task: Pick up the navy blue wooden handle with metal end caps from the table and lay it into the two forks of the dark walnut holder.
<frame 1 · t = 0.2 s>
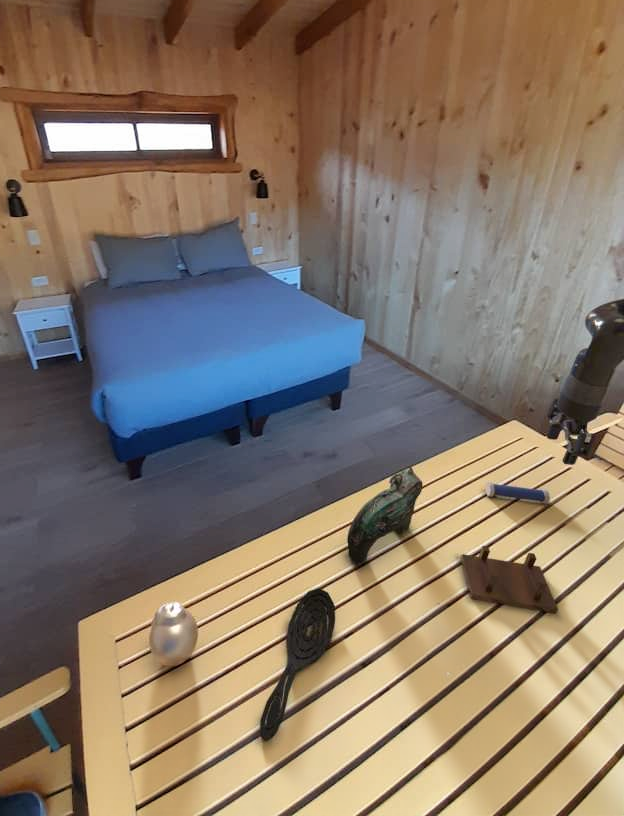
hand: (559, 450, 95), 18 cm above the table, tool pointing down, fingers open, 8 cm apart
hairbrush: (297, 660, 74), on the table
handle: (514, 497, 105), on the table
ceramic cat: (381, 542, 95), on the table
holder: (505, 584, 85), on the table
ghost figurine: (176, 646, 76), on the table
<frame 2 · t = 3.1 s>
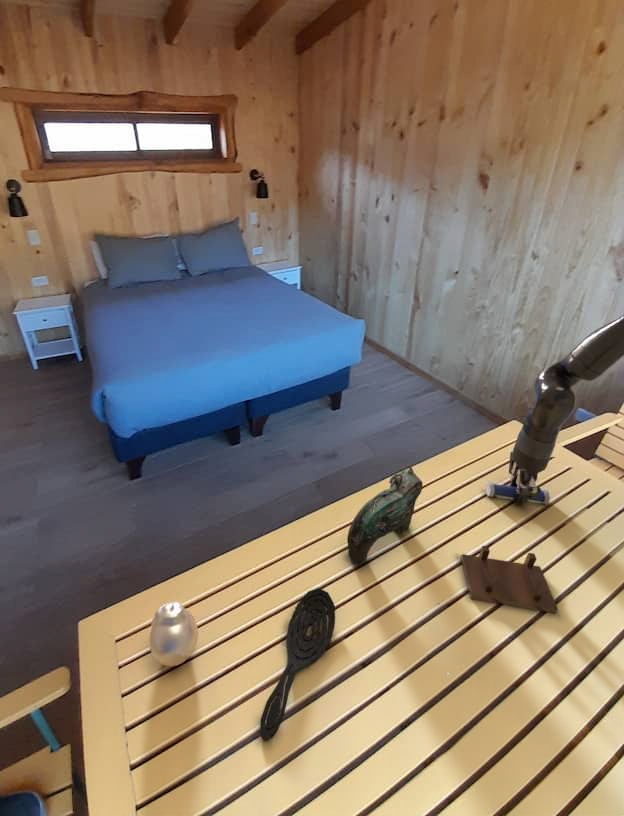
hand: (514, 497, 105), 0 cm above the table, tool pointing down, fingers closed on handle, 3 cm apart
handle: (514, 497, 105), on the table, touching gripper
everything else where it was.
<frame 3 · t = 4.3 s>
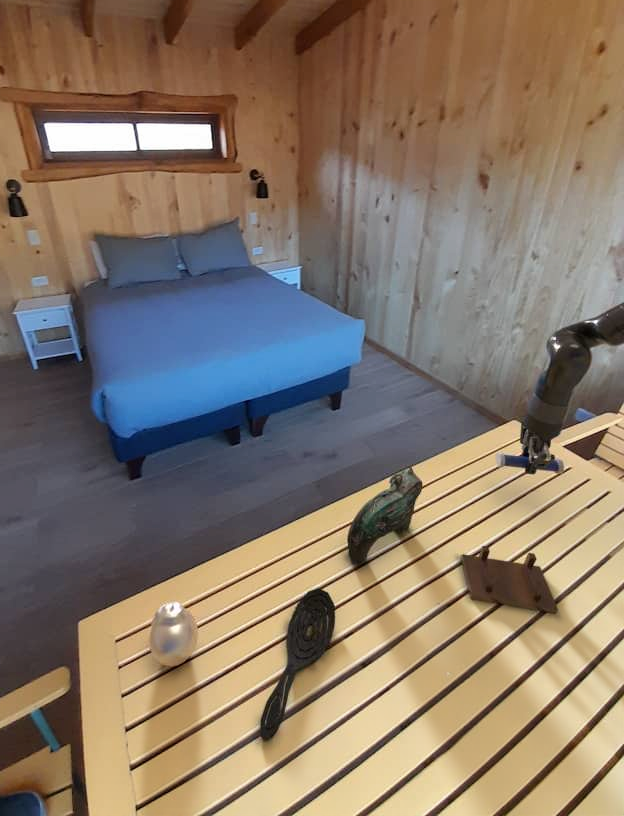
hand: (526, 467, 101), 11 cm above the table, tool pointing down, fingers closed on handle, 3 cm apart
handle: (526, 468, 101), point 10 cm above the table, touching gripper
everything else where it was.
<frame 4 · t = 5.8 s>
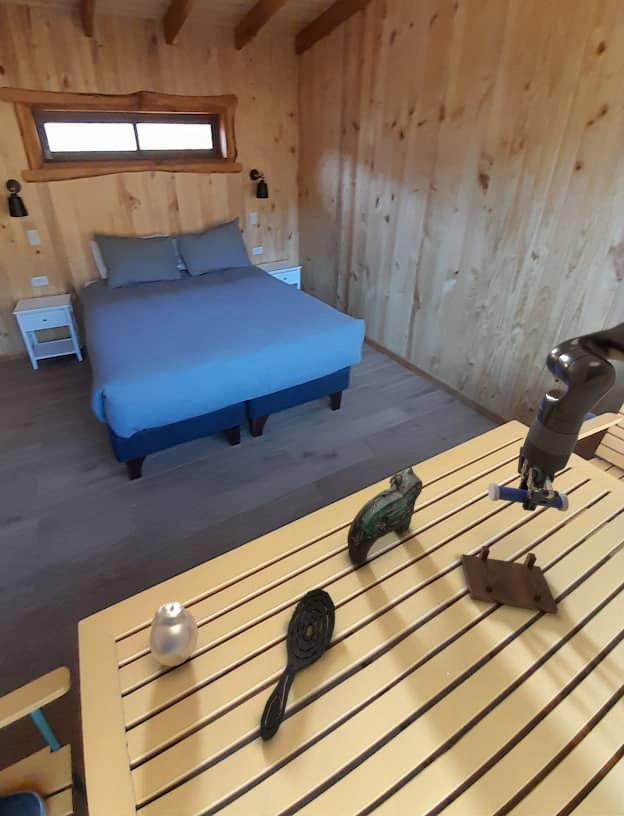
hand: (524, 502, 85), 15 cm above the table, tool pointing down, fingers closed on handle, 3 cm apart
handle: (524, 502, 86), point 15 cm above the table, touching gripper
everything else where it was.
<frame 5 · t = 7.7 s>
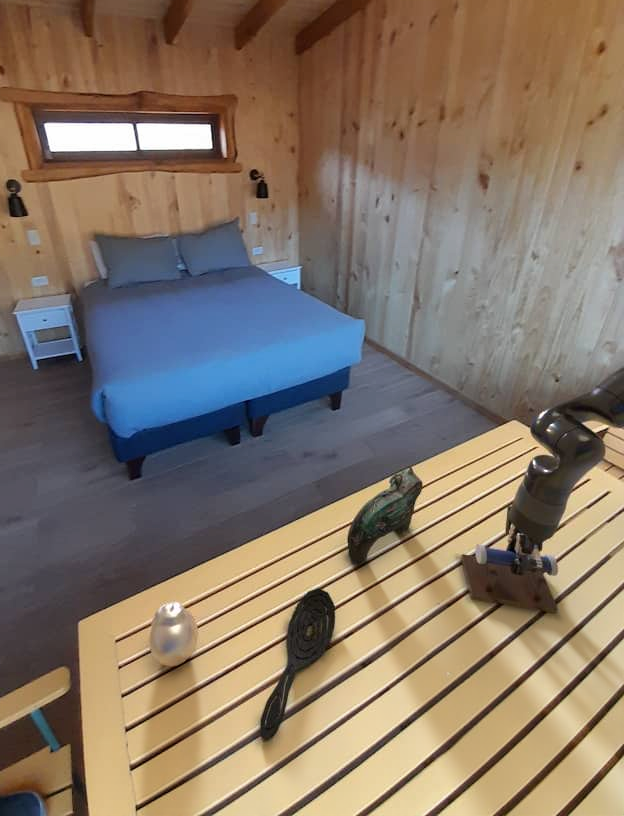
hand: (513, 564, 82), 7 cm above the table, tool pointing down, fingers closed on handle, 3 cm apart
handle: (512, 564, 83), point 6 cm above the table, touching gripper
everything else where it was.
when the fingers open (4 cm above the table, at t = 8.9 s): handle stays where it is, resting on holder.
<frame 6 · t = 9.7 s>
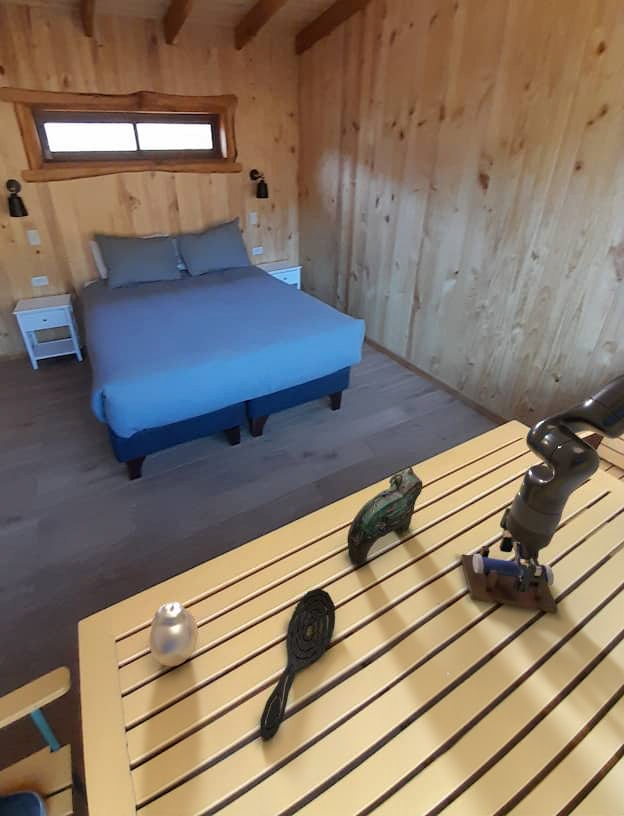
hand: (511, 569, 83), 5 cm above the table, tool pointing down, fingers open, 8 cm apart
handle: (509, 573, 84), point 4 cm above the table, tilted 6°, touching holder
everything else where it was.
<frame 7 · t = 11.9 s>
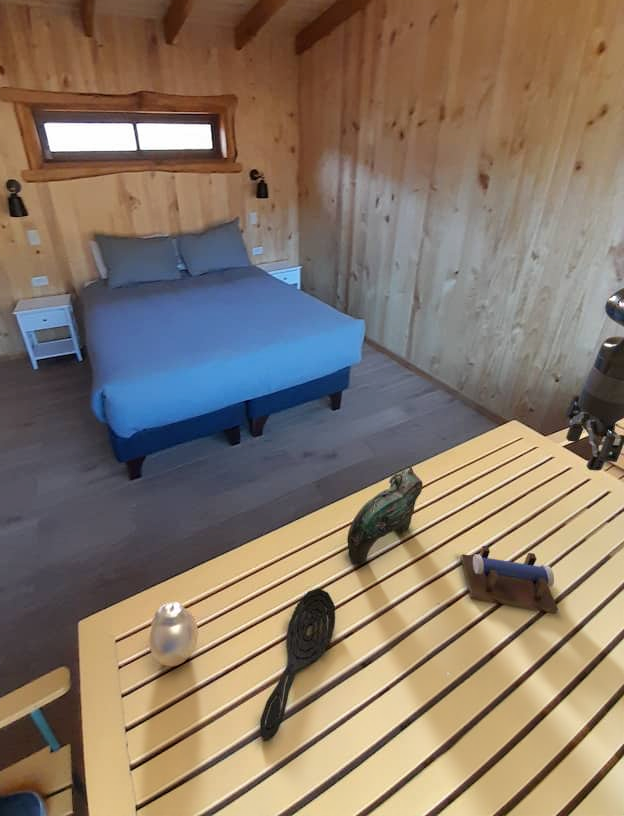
hand: (581, 454, 84), 26 cm above the table, tool pointing down, fingers open, 8 cm apart
handle: (509, 573, 84), point 4 cm above the table, tilted 13°, touching holder
everything else where it was.
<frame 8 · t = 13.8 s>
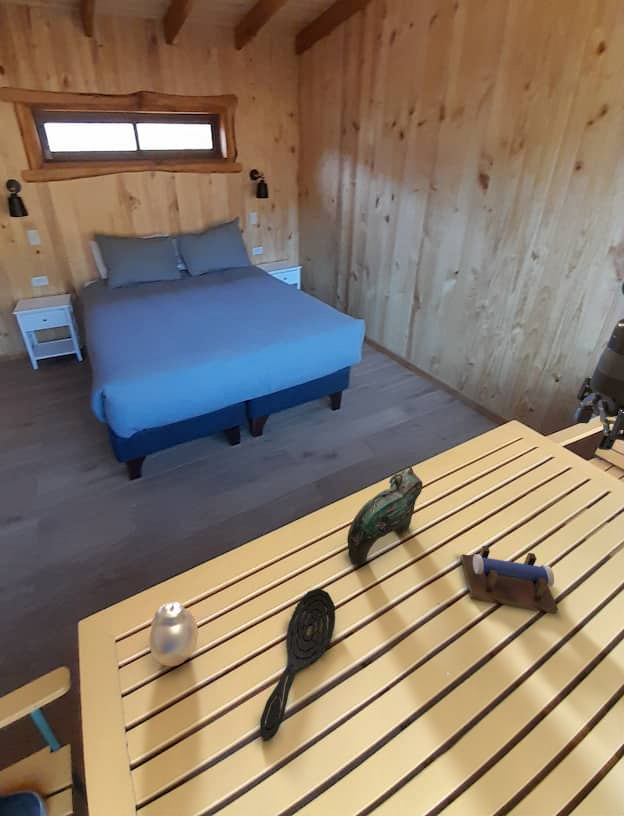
hand: (591, 434, 86), 28 cm above the table, tool pointing down, fingers open, 8 cm apart
nothing on the table moved.
at the end: handle 0.1 cm off-centre on the holder, point 3.6 cm above the holder's base; handle tilted 13°; the gripper is holding nothing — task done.
